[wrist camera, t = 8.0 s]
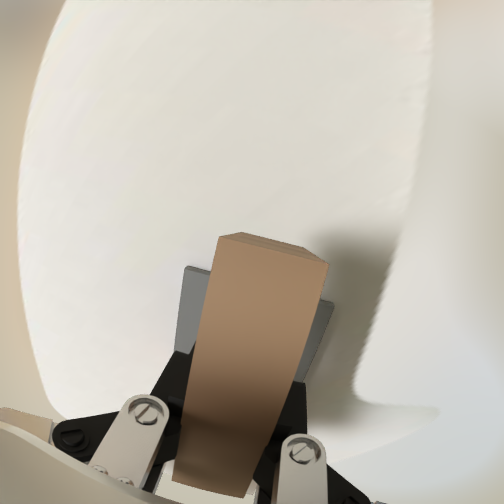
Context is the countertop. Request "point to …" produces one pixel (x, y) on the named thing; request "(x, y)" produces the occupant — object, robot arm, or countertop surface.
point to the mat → (192, 311)
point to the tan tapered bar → (244, 359)
